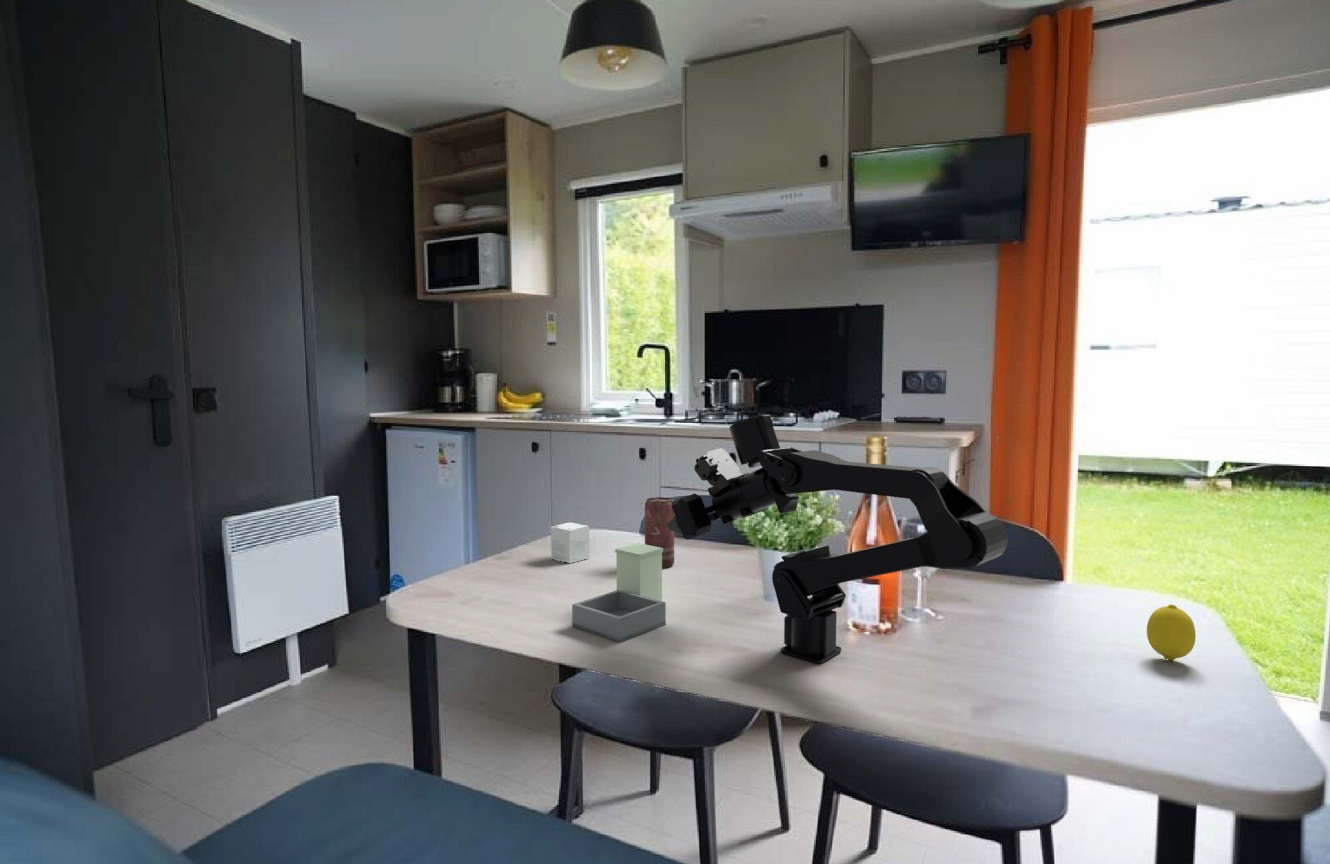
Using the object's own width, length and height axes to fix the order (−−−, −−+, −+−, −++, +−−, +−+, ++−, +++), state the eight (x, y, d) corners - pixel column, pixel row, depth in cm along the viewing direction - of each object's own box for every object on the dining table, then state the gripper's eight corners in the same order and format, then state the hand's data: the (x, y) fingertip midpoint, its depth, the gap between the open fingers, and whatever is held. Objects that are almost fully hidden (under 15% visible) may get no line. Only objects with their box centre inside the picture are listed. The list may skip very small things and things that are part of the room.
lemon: (1195, 672, 96) (1199, 613, 96) (1145, 663, 99) (1148, 606, 99) (1192, 658, 101) (1195, 602, 100) (1144, 650, 104) (1147, 596, 103)
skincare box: (590, 559, 156) (590, 525, 156) (568, 564, 152) (568, 529, 151) (571, 554, 160) (571, 521, 160) (550, 559, 156) (549, 525, 155)
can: (672, 569, 147) (672, 501, 146) (642, 568, 149) (642, 500, 148) (677, 562, 153) (678, 497, 152) (648, 560, 155) (648, 496, 154)
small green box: (663, 605, 125) (663, 548, 124) (640, 613, 120) (640, 554, 119) (638, 598, 128) (638, 543, 128) (615, 606, 124) (615, 548, 123)
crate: (665, 624, 115) (665, 602, 114) (619, 642, 107) (619, 618, 107) (618, 610, 122) (618, 589, 121) (572, 626, 114) (572, 604, 113)
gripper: (770, 433, 117) (706, 464, 128) (693, 453, 104) (629, 486, 115) (796, 497, 115) (729, 523, 126) (722, 526, 102) (654, 552, 113)
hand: (687, 520), depth 120 cm, fingers open, 9 cm apart
